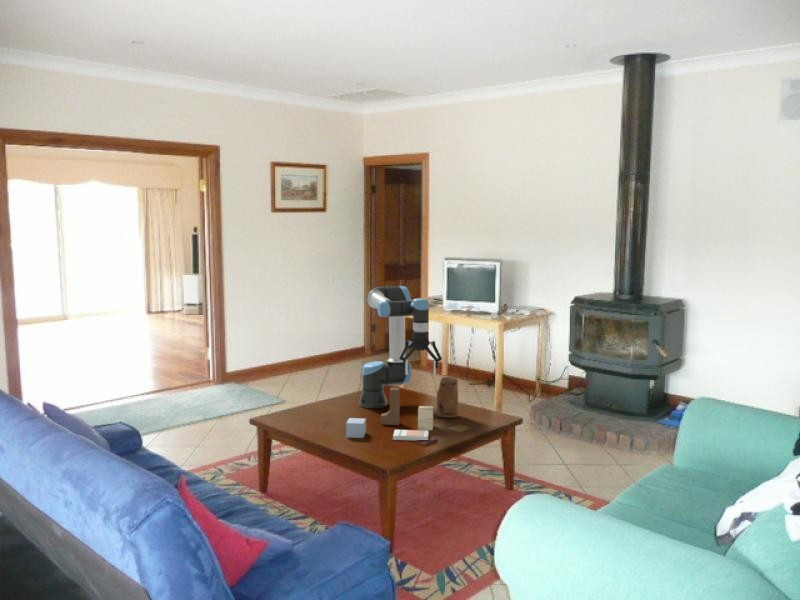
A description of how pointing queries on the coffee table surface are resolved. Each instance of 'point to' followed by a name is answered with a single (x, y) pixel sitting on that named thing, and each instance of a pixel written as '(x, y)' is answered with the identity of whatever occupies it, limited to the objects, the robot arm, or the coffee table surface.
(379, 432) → the coffee table surface
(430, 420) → the beige box
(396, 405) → the wooden block
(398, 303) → the robot arm
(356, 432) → the slate block
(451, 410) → the block
